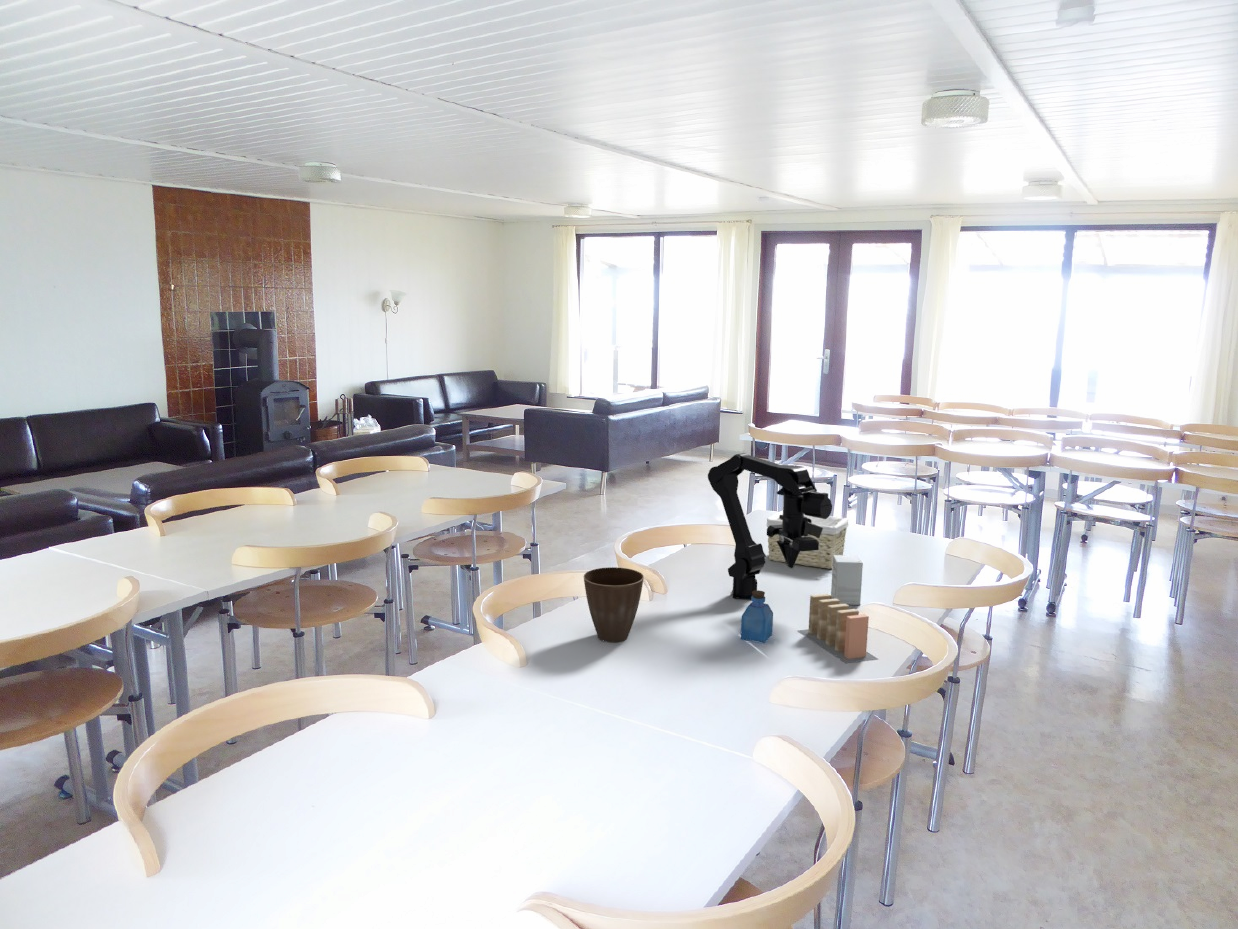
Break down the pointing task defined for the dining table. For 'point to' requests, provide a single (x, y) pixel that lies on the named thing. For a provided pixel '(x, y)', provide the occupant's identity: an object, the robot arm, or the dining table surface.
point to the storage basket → (828, 541)
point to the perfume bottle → (757, 619)
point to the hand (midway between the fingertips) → (790, 567)
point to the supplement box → (846, 579)
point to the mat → (832, 650)
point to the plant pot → (613, 600)
